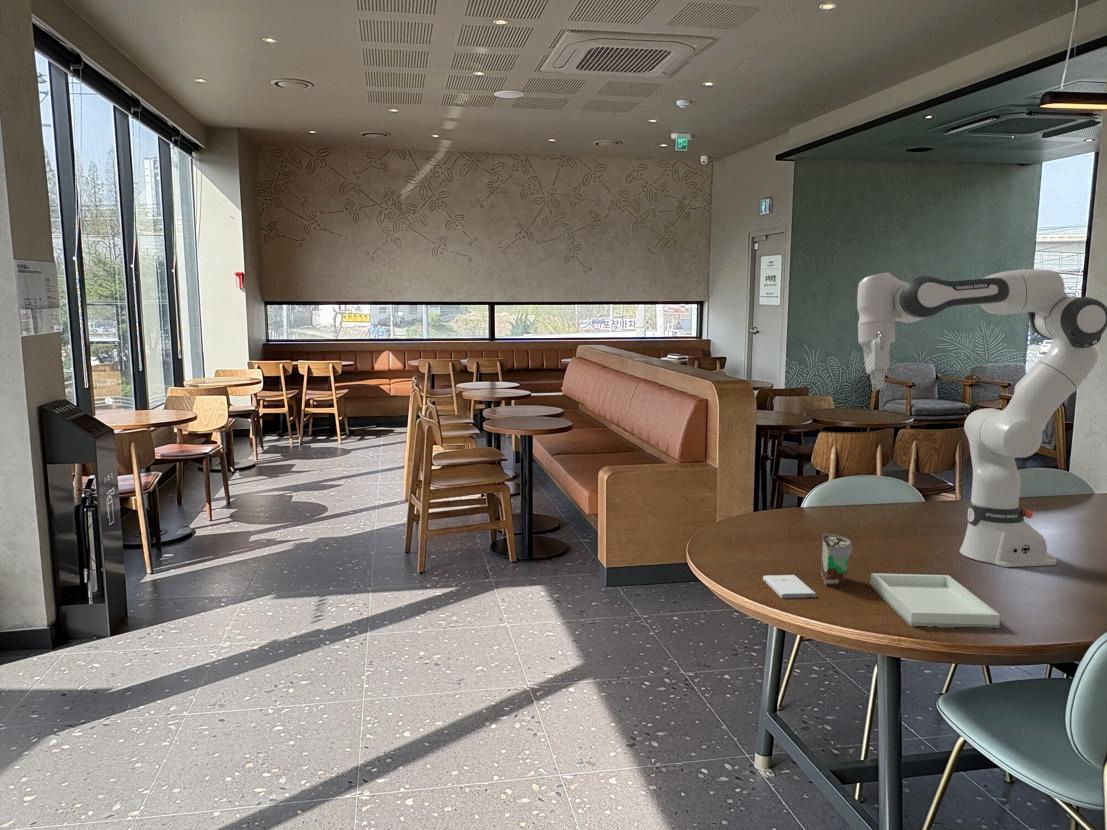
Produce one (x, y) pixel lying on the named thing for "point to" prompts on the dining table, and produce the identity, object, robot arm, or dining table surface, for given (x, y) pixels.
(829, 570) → the food container
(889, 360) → the robot arm
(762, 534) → the dining table surface
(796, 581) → the external hard drive
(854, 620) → the dining table surface
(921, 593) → the tray
